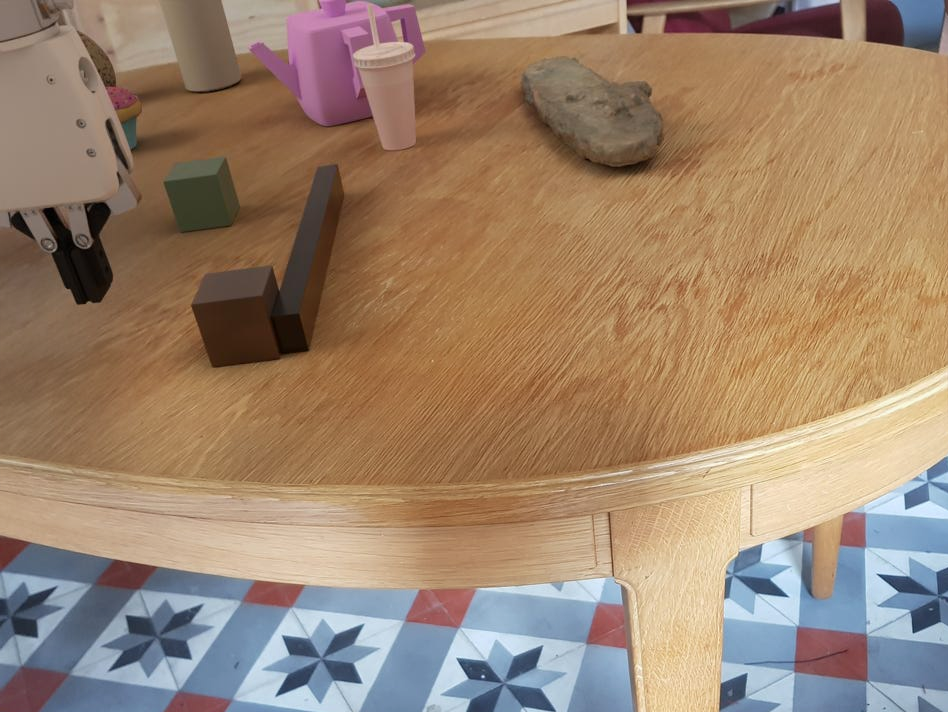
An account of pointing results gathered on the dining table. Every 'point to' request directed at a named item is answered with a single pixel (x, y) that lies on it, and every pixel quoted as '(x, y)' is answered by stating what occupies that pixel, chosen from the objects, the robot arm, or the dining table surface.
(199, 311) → the walnut block
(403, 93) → the smoothie
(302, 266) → the rail
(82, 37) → the decorative egg
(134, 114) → the cupcake
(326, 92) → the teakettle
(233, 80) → the travel mug
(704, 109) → the dining table surface
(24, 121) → the robot arm
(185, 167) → the green block
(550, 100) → the long grey stone
